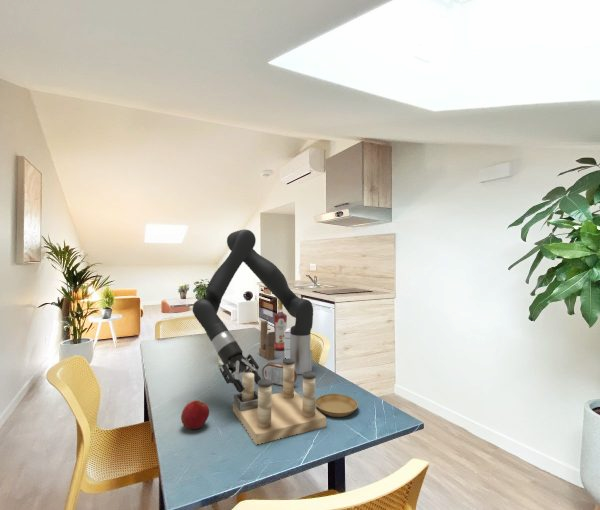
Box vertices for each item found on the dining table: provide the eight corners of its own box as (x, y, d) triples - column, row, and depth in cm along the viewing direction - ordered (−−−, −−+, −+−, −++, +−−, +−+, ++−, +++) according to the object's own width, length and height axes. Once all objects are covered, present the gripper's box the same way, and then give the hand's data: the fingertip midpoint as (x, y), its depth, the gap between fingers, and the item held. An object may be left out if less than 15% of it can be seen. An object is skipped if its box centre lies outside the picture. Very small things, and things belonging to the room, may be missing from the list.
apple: (201, 435, 99) (202, 408, 99) (176, 432, 101) (176, 405, 101) (212, 422, 107) (213, 397, 107) (189, 419, 108) (189, 395, 108)
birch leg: (251, 400, 116) (251, 371, 116) (255, 405, 112) (255, 375, 112) (240, 403, 114) (240, 373, 114) (244, 407, 110) (244, 377, 110)
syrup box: (295, 359, 171) (295, 331, 171) (283, 358, 172) (284, 330, 172) (297, 356, 176) (297, 328, 176) (286, 355, 178) (286, 328, 178)
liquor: (285, 347, 193) (286, 298, 193) (287, 350, 186) (287, 300, 186) (272, 347, 192) (273, 298, 192) (274, 351, 185) (274, 300, 185)
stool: (293, 398, 125) (293, 355, 125) (325, 426, 105) (326, 376, 105) (232, 410, 115) (233, 364, 115) (256, 445, 94) (256, 389, 94)
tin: (297, 386, 137) (297, 365, 137) (293, 389, 134) (293, 368, 134) (265, 380, 143) (265, 360, 143) (261, 382, 140) (261, 362, 140)
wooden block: (268, 360, 169) (268, 324, 169) (258, 354, 178) (259, 321, 178) (274, 359, 171) (275, 323, 171) (265, 353, 180) (265, 320, 180)
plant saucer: (362, 405, 120) (362, 398, 120) (351, 424, 107) (351, 416, 107) (323, 397, 127) (323, 390, 127) (308, 414, 113) (308, 407, 113)
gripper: (217, 345, 111) (242, 387, 105) (246, 336, 123) (270, 374, 117) (205, 358, 114) (230, 400, 108) (235, 348, 126) (258, 386, 120)
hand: (251, 386), depth 112 cm, fingers open, 8 cm apart
